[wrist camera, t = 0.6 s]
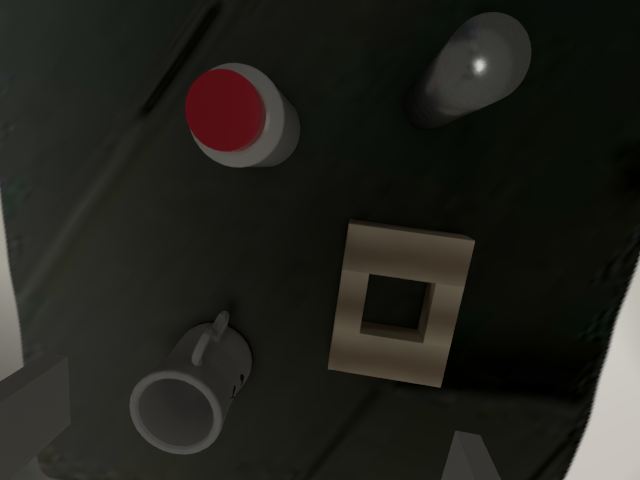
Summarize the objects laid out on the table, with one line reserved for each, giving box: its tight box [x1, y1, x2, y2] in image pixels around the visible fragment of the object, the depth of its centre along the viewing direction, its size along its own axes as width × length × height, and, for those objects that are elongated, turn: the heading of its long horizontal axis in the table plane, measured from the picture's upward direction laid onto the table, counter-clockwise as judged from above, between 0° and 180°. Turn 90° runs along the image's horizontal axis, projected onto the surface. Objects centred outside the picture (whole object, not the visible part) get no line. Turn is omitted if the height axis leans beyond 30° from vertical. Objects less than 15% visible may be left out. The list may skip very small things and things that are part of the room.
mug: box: [130, 311, 252, 454], centre depth 35 cm, size 12×9×10 cm
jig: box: [328, 219, 475, 387], centre depth 35 cm, size 16×12×3 cm
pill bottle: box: [185, 63, 300, 168], centre depth 28 cm, size 8×8×11 cm
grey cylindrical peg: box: [404, 12, 531, 130], centre depth 25 cm, size 5×5×14 cm
